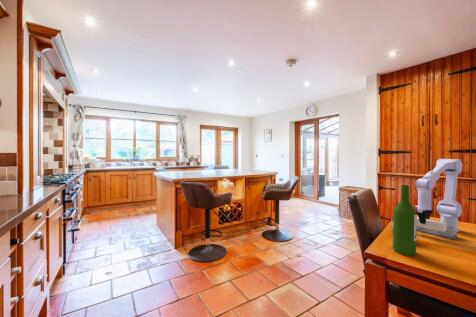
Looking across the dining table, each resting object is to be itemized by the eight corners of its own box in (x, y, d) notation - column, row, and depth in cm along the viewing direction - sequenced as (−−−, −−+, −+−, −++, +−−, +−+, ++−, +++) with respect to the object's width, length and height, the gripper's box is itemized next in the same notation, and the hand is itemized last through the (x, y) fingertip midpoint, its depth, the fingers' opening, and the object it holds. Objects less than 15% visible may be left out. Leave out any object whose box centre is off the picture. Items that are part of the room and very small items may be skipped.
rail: (406, 221, 129) (406, 214, 129) (446, 230, 114) (446, 223, 114) (403, 222, 127) (403, 215, 127) (444, 231, 112) (444, 224, 112)
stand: (410, 225, 137) (410, 217, 137) (457, 237, 119) (457, 227, 118) (404, 228, 133) (405, 219, 133) (453, 240, 114) (453, 230, 114)
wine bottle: (417, 258, 96) (419, 187, 95) (393, 253, 100) (394, 185, 100) (414, 250, 103) (415, 184, 102) (391, 246, 108) (392, 183, 107)
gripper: (420, 196, 127) (420, 218, 128) (410, 199, 120) (410, 223, 120) (435, 198, 121) (435, 222, 122) (426, 202, 114) (426, 226, 114)
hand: (424, 222), depth 121 cm, fingers closed on rail, 4 cm apart
